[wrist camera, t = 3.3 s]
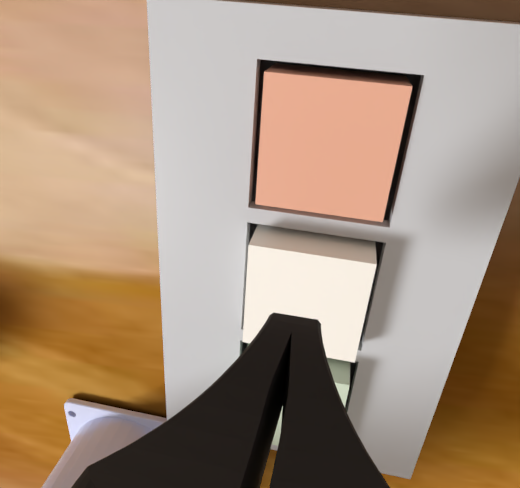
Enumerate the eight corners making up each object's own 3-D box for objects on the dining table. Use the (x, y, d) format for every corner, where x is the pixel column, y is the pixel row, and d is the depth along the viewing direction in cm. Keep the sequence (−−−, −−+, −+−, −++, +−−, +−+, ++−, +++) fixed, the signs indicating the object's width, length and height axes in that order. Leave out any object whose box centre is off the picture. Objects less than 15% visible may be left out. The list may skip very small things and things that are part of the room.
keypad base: (404, 421, 24) (410, 479, 21) (189, 378, 26) (167, 427, 23) (532, 23, 15) (573, 29, 12) (184, -5, 17) (146, -6, 14)
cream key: (355, 326, 19) (354, 362, 17) (253, 309, 20) (242, 342, 18) (375, 234, 17) (376, 264, 15) (260, 218, 18) (248, 244, 16)
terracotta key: (380, 197, 17) (382, 222, 15) (266, 182, 18) (255, 204, 16) (405, 75, 15) (412, 86, 13) (275, 63, 16) (264, 71, 14)
